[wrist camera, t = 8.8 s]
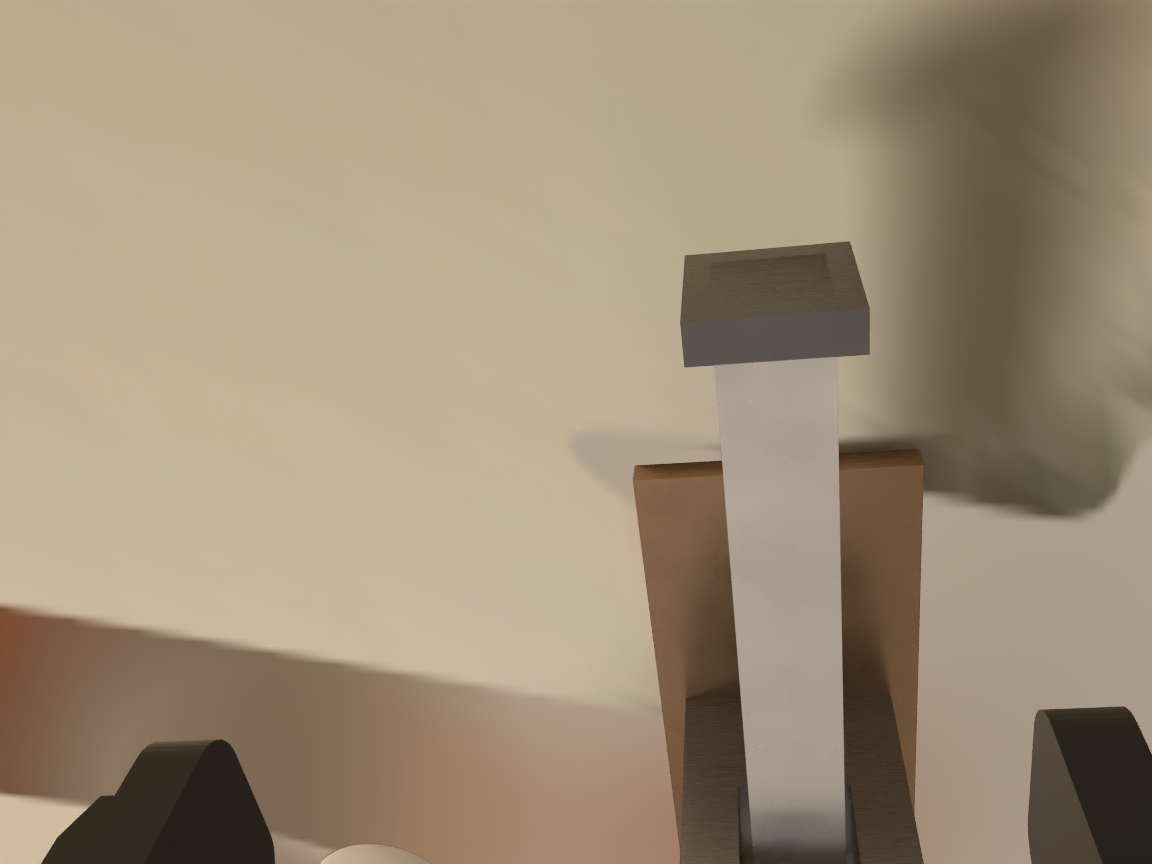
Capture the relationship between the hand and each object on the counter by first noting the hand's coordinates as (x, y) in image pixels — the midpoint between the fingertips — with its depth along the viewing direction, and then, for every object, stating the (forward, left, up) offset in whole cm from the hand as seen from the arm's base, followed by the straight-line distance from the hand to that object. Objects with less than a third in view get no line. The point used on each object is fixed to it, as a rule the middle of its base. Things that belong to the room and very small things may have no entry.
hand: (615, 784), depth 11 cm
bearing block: (-2, +25, -26) cm, 36 cm away
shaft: (-2, +14, -21) cm, 25 cm away
